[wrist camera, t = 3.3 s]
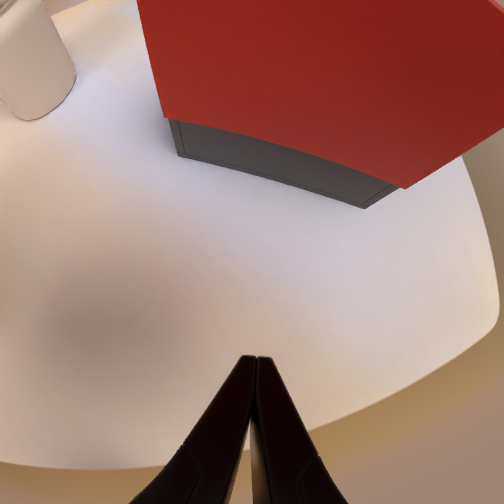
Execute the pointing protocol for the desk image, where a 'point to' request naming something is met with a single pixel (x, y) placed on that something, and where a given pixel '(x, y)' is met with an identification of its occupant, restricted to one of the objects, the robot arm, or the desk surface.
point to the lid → (336, 76)
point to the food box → (278, 163)
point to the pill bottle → (32, 60)
